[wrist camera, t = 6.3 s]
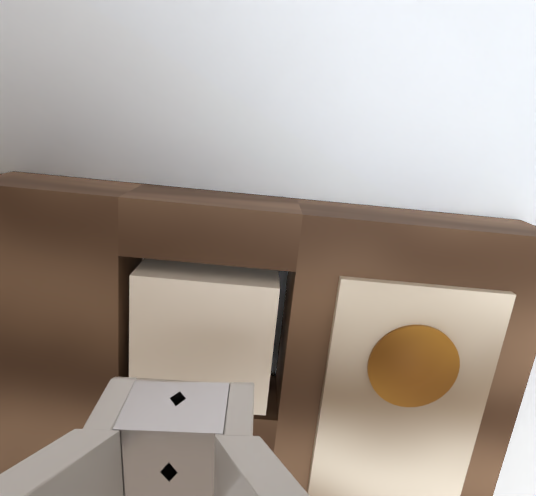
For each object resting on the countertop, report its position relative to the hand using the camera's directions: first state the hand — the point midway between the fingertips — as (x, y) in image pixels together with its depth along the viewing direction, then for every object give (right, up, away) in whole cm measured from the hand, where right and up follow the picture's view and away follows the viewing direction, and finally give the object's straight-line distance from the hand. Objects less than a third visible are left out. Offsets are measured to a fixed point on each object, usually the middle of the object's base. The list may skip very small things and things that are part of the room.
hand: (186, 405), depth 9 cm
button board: (+1, -7, +11) cm, 13 cm away
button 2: (-1, +1, +9) cm, 9 cm away
